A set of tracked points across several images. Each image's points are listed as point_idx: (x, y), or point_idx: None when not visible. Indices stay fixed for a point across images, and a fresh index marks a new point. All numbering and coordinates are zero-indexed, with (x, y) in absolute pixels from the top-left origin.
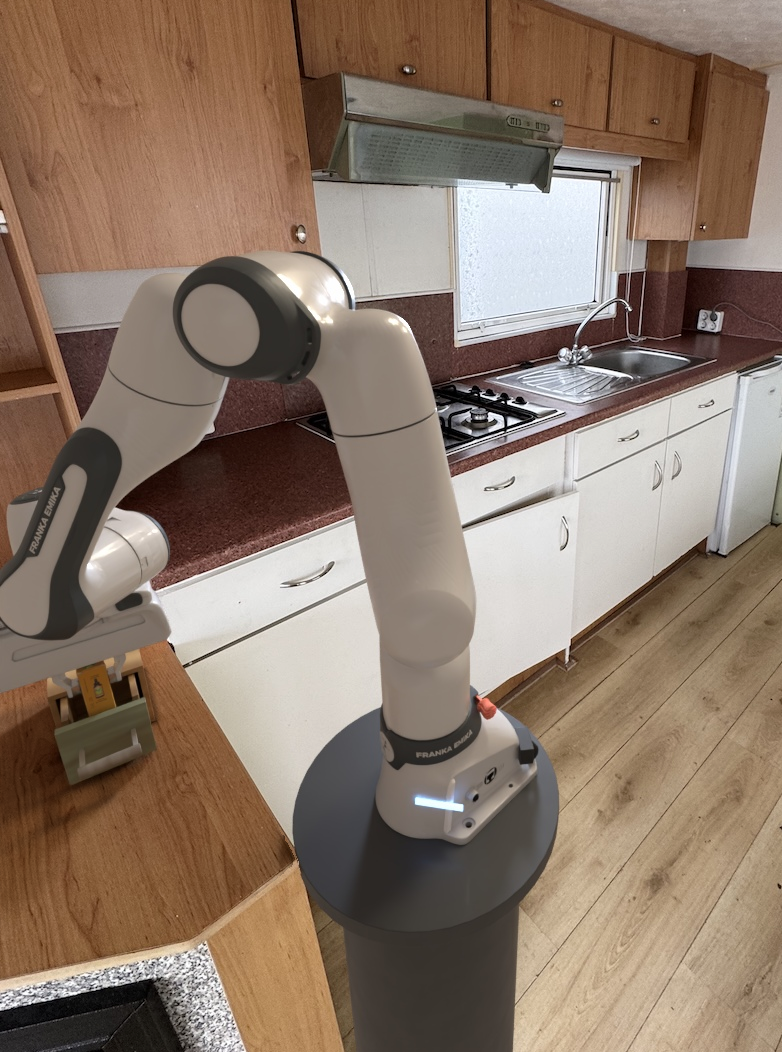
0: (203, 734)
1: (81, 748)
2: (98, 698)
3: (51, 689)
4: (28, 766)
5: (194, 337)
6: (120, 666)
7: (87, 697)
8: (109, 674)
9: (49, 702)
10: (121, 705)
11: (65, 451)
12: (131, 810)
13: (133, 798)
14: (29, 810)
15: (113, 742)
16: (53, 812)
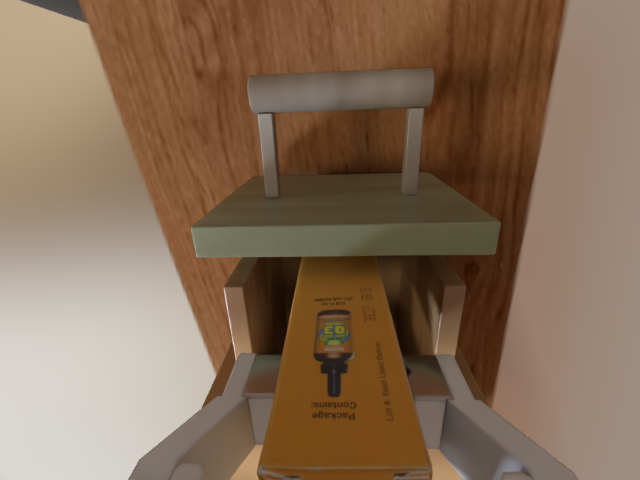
0: (162, 180)
1: (409, 195)
2: (341, 308)
3: None
4: (484, 288)
5: None
6: (201, 420)
7: (380, 323)
8: (270, 396)
9: (480, 394)
10: (274, 256)
11: None
12: (318, 16)
13: (311, 58)
14: (503, 161)
15: (328, 190)
16: (465, 124)
